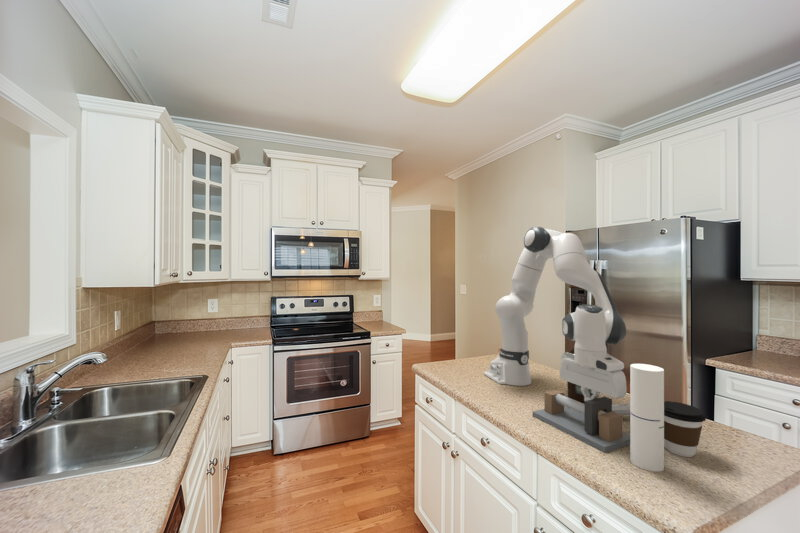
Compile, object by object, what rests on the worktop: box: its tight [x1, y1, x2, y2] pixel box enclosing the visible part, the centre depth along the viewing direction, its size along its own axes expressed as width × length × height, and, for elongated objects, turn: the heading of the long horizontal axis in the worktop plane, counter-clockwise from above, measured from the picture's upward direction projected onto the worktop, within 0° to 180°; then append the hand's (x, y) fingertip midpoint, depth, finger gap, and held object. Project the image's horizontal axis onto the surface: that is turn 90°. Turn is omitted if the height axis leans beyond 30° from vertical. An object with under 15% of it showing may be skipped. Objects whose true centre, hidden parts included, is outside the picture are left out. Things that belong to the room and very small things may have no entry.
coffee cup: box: [664, 400, 707, 458], centre depth 96 cm, size 11×11×12 cm
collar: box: [585, 396, 613, 434], centre depth 104 cm, size 2×9×9 cm, turn 115°
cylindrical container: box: [629, 363, 665, 473], centre depth 90 cm, size 7×7×25 cm
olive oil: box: [566, 347, 593, 404], centre depth 132 cm, size 11×11×25 cm
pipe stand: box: [532, 389, 630, 453], centre depth 110 cm, size 26×14×8 cm, turn 25°
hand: (590, 402), depth 106 cm, fingers closed
